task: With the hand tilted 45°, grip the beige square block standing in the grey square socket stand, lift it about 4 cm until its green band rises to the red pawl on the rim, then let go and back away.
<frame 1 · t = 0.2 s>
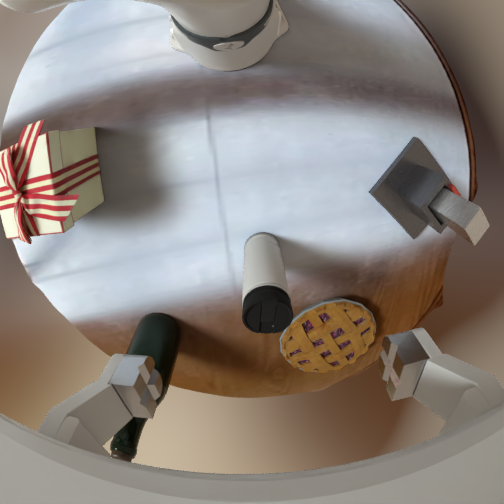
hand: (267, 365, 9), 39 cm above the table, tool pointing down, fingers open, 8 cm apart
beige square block: (444, 205, 36), point 10 cm above the table, slide at 0.0 cm
travel mug: (261, 246, 50), on the table
green wine bottle: (161, 328, 59), on the table
grey square socket stand: (413, 188, 45), on the table
gift box: (75, 165, 43), on the table
pie: (326, 330, 60), on the table
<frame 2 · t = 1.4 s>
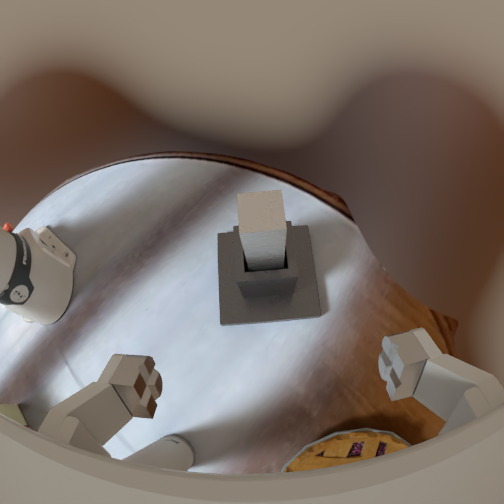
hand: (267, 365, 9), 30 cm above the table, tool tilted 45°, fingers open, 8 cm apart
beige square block: (264, 248, 32), point 10 cm above the table, slide at 0.0 cm
travel mug: (175, 451, 32), on the table
grey square socket stand: (266, 275, 42), on the table
gift box: (22, 438, 32), on the table
pie: (343, 484, 29), on the table
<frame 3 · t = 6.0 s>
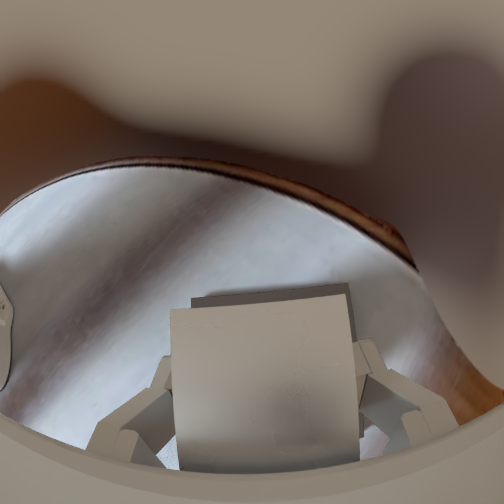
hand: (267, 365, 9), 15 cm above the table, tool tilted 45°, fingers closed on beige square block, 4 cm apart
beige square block: (273, 376, 13), point 10 cm above the table, slide at 0.0 cm, touching gripper
grey square socket stand: (276, 372, 23), on the table
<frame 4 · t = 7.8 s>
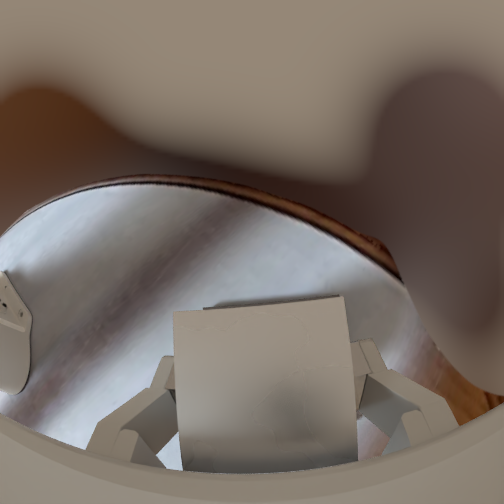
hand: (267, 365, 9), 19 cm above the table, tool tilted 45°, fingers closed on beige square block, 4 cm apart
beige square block: (273, 376, 13), point 14 cm above the table, slide at 3.9 cm, touching gripper
grey square socket stand: (277, 371, 26), on the table
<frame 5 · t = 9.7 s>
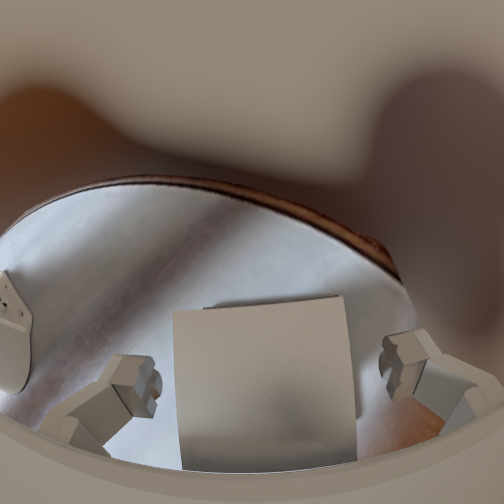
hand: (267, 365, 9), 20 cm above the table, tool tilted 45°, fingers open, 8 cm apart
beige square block: (273, 375, 13), point 14 cm above the table, slide at 4.1 cm
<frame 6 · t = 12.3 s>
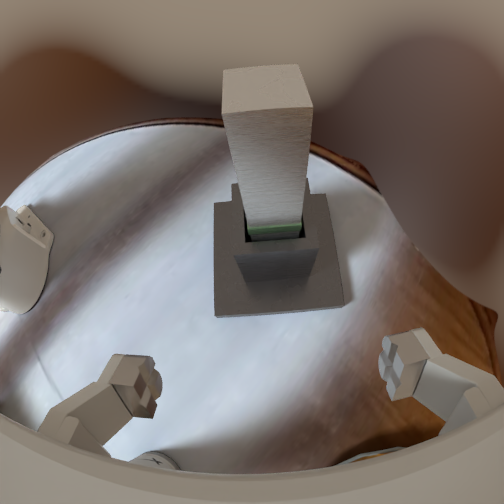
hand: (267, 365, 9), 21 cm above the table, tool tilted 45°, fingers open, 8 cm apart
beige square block: (271, 183, 20), point 14 cm above the table, slide at 4.1 cm
travel mug: (159, 470, 24), on the table
grey square socket stand: (275, 254, 33), on the table
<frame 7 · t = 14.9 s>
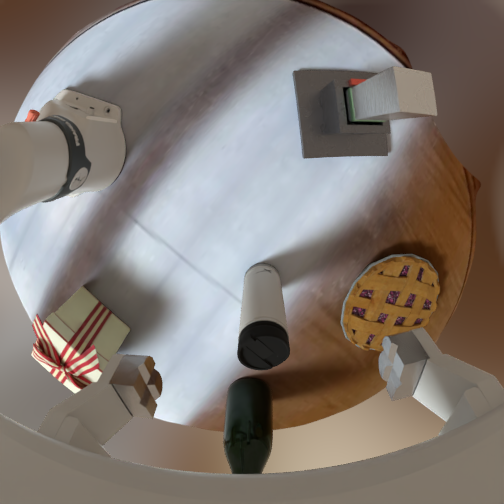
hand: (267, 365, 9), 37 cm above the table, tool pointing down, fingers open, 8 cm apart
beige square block: (377, 101, 25), point 14 cm above the table, slide at 4.1 cm
travel mug: (261, 277, 49), on the table
green wine bottle: (249, 389, 60), on the table
grey square socket stand: (341, 113, 38), on the table
gift box: (94, 318, 54), on the table
pie: (387, 297, 51), on the table
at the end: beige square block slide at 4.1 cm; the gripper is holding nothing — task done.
